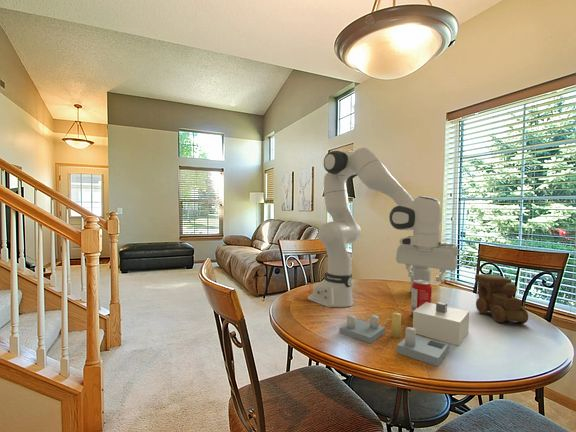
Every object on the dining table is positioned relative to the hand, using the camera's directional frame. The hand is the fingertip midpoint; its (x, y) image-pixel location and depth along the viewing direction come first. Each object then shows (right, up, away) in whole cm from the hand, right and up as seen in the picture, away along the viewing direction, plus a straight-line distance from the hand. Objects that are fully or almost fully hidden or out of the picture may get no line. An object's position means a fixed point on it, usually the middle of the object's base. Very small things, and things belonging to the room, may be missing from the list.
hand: (424, 278), depth 108 cm
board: (-23, -20, 0) cm, 30 cm away
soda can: (+7, -20, +18) cm, 28 cm away
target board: (-7, -20, -14) cm, 26 cm away
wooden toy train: (+41, -21, +19) cm, 50 cm away
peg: (-11, -20, -2) cm, 23 cm away
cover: (+7, -20, +2) cm, 21 cm away
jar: (+22, -20, +54) cm, 61 cm away
